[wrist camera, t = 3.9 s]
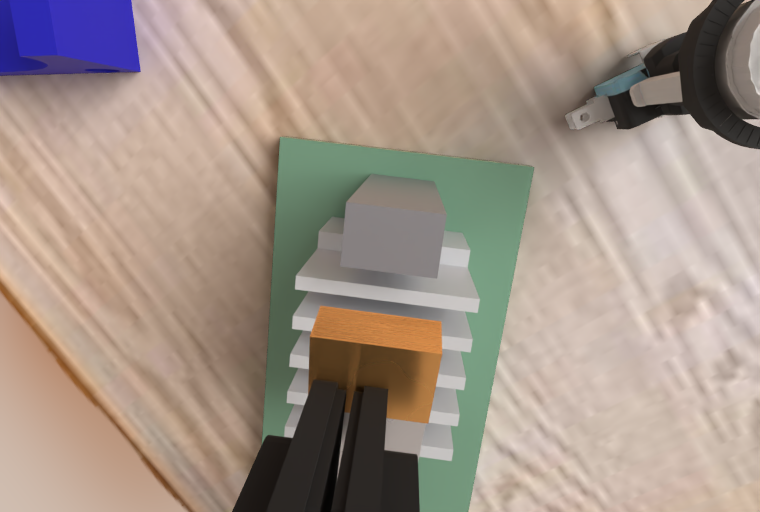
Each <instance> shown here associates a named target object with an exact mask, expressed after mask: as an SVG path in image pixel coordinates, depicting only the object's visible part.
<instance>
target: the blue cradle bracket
mask: <svg viewBox="0 0 760 512" xmlns="http://www.w3.org/2000/svg"><path fill="white" fill-rule="evenodd" d="M115 72H140V64H139V56H138V49H137V41H136V34H135V26H134V18H133V11H132V3H131V0H0V76H7V75H43V74H79V73H115Z"/></svg>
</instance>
